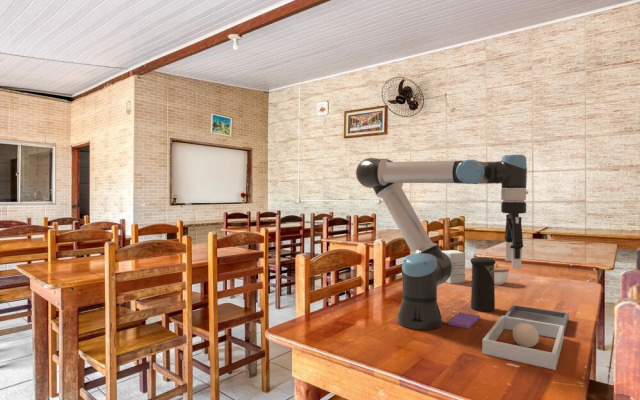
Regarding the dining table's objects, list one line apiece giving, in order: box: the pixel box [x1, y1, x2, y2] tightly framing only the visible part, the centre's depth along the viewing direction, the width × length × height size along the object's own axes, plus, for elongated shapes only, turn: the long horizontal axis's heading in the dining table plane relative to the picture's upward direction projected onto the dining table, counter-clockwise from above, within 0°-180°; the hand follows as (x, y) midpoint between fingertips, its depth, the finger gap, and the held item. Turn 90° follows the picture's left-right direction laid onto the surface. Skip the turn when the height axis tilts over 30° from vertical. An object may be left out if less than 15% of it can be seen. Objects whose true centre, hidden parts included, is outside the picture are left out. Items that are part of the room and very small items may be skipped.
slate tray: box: [504, 304, 570, 337], centre depth 140 cm, size 18×18×2 cm
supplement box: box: [441, 249, 466, 285], centre depth 201 cm, size 9×9×15 cm
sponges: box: [448, 312, 481, 329], centre depth 141 cm, size 7×13×2 cm, turn 143°
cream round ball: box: [512, 323, 540, 348], centre depth 119 cm, size 7×7×7 cm
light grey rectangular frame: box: [481, 315, 565, 371], centre depth 119 cm, size 26×18×4 cm
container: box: [470, 256, 496, 313], centre depth 155 cm, size 9×9×20 cm
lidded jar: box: [494, 263, 510, 286], centre depth 196 cm, size 11×11×9 cm
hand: (513, 264), depth 134 cm, fingers open, 13 cm apart
